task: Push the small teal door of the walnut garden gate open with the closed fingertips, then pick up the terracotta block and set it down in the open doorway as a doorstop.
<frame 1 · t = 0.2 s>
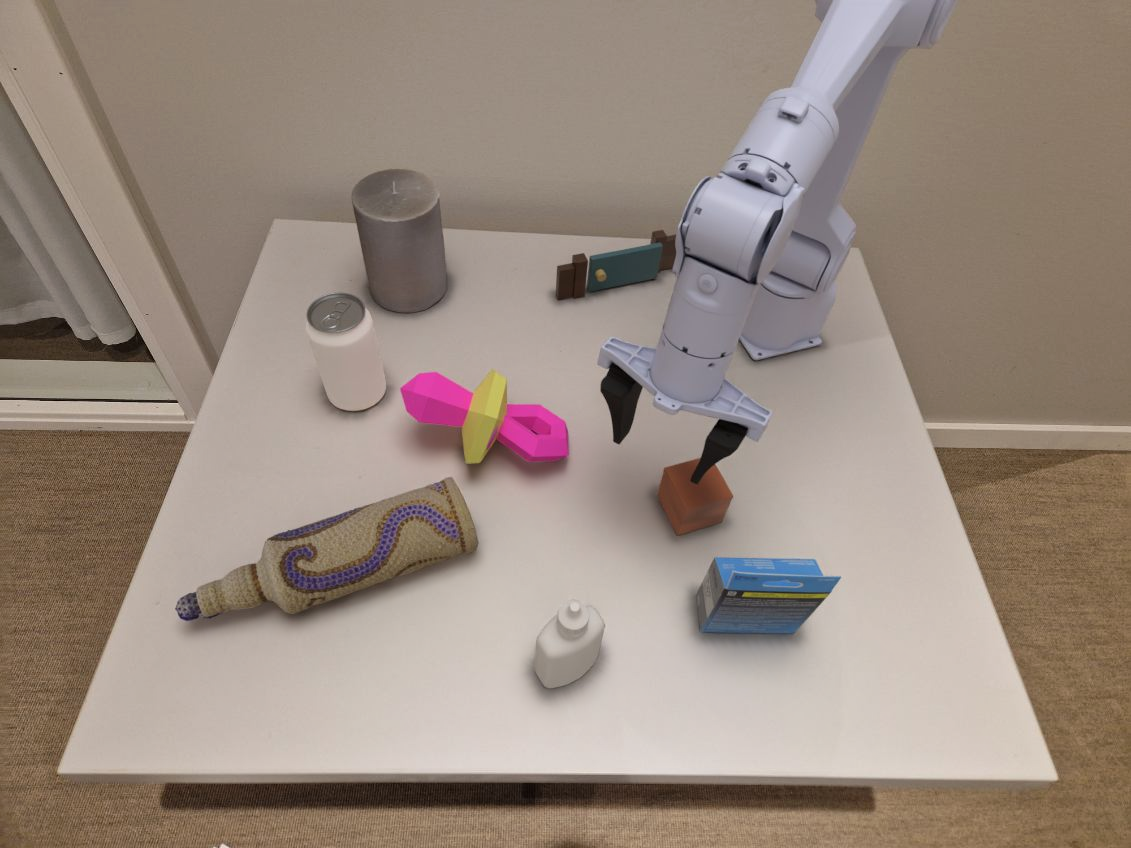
hand: (658, 456, 64), 10 cm above the table, tool pointing down, fingers open, 7 cm apart
block: (688, 508, 74), on the table
gate: (619, 285, 93), on the table
eye dropper bottle: (566, 664, 63), on the table
toy: (489, 442, 77), on the table
gate door: (625, 269, 91), point 3 cm above the table, hinge at 0.0°
can: (357, 391, 81), on the table
label tape box: (743, 616, 67), on the table
pillar candle: (410, 288, 91), on the table
decorative bottle: (345, 564, 68), on the table
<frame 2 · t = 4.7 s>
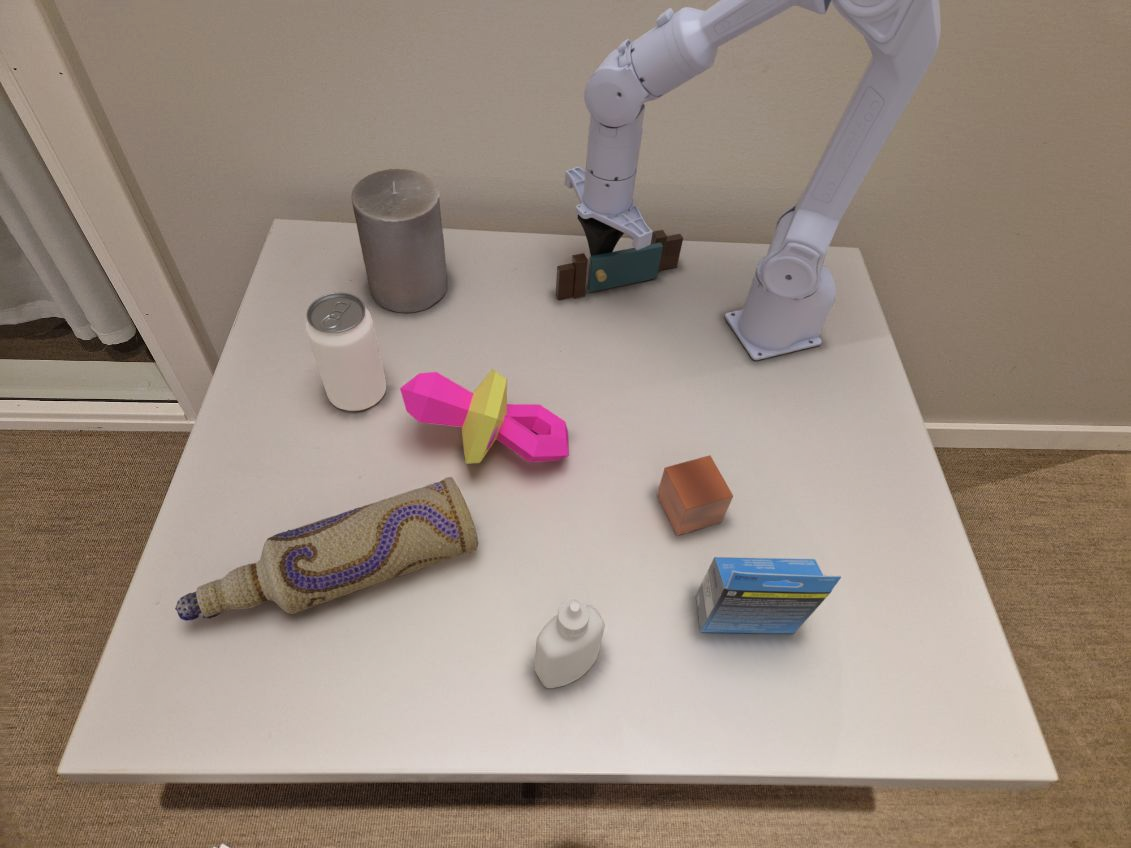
hand: (600, 262, 92), 3 cm above the table, tool pointing down, fingers closed
gate door: (626, 270, 91), point 3 cm above the table, hinge at 0.4°, touching gripper
everything else where it was.
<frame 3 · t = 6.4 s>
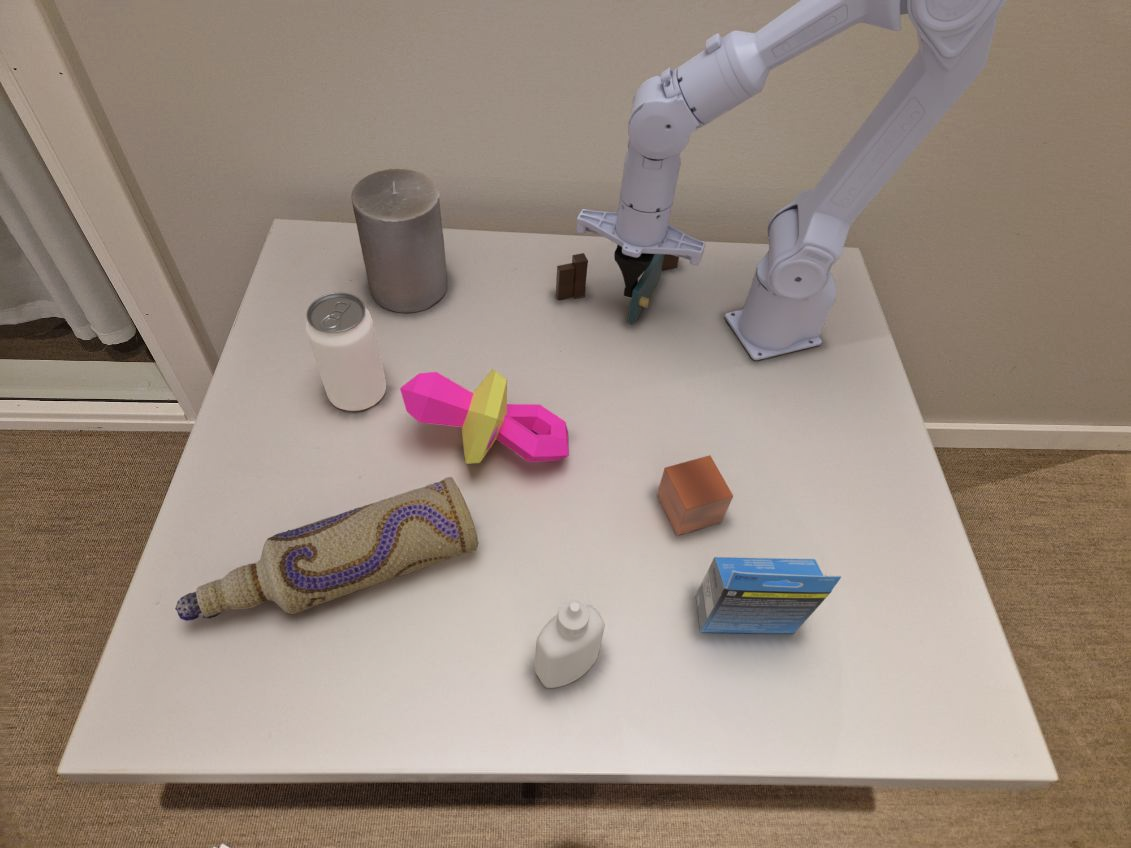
hand: (630, 292, 88), 3 cm above the table, tool pointing down, fingers closed
gate door: (650, 285, 89), point 3 cm above the table, hinge at 46.2°, touching gripper
everything else where it was.
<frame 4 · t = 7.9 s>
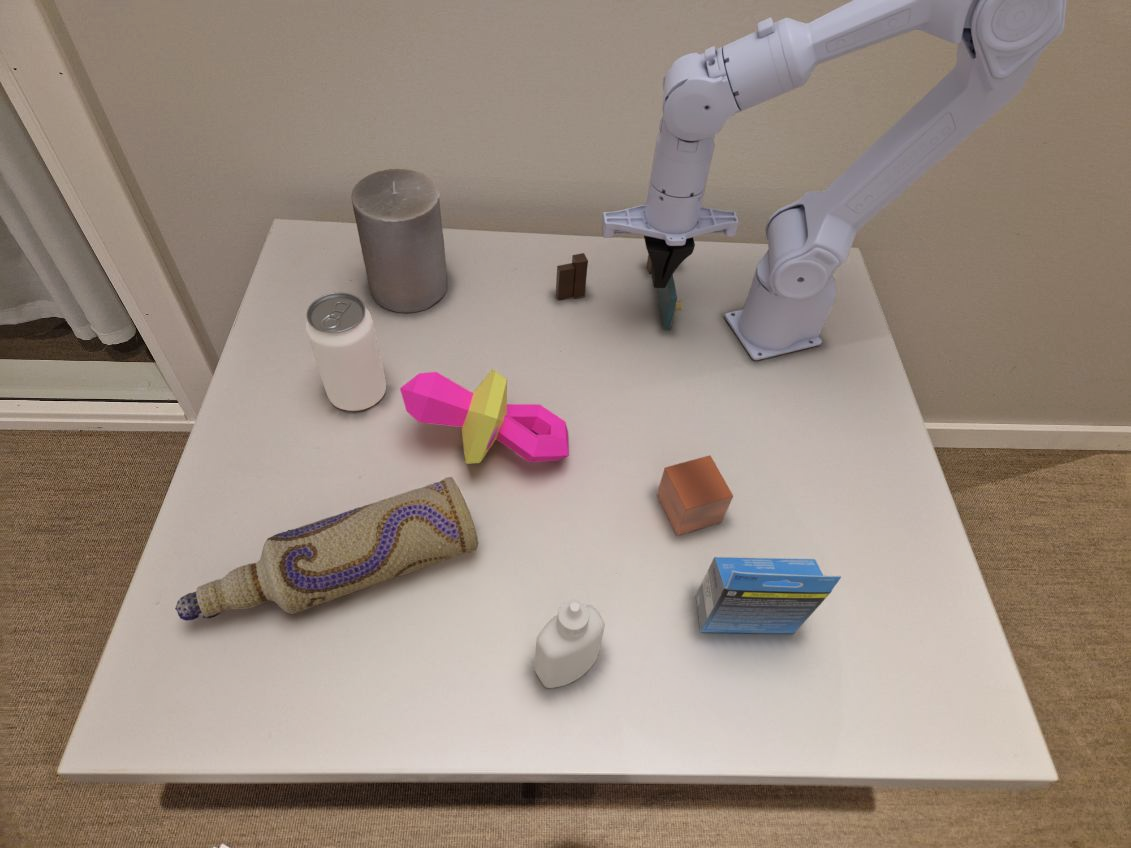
hand: (658, 282, 85), 6 cm above the table, tool pointing down, fingers closed
gate door: (669, 287, 89), point 3 cm above the table, hinge at 72.7°
everything else where it was.
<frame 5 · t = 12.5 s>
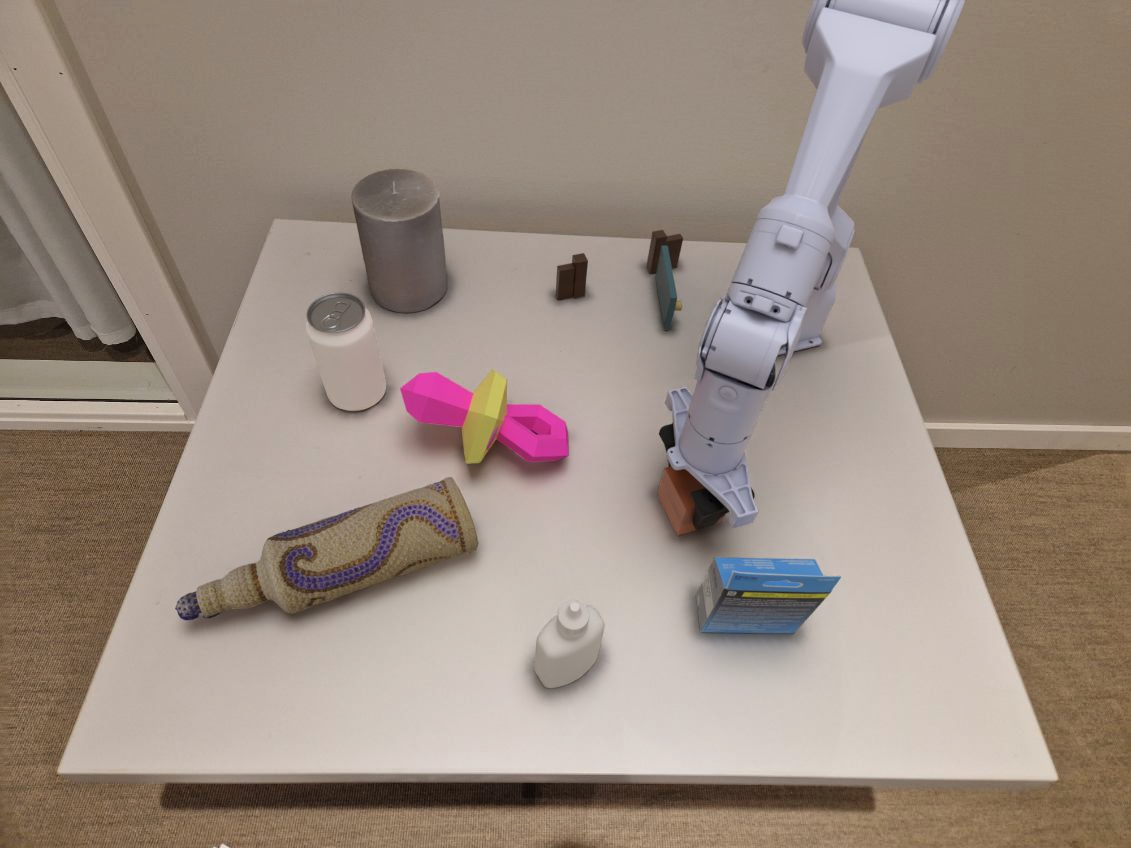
hand: (691, 501, 72), 1 cm above the table, tool pointing down, fingers closed on block, 5 cm apart
block: (689, 508, 74), on the table, touching gripper
everything else where it was.
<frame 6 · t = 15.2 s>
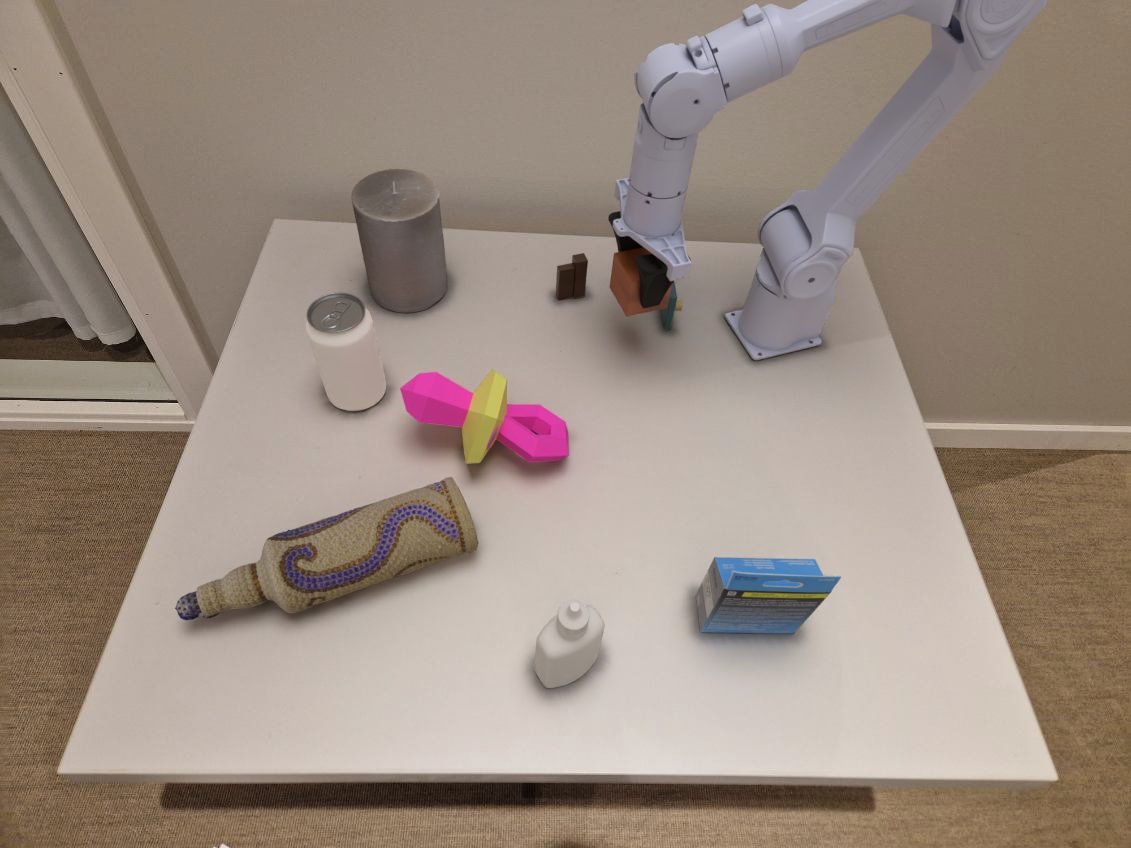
hand: (640, 287, 81), 8 cm above the table, tool pointing down, fingers closed on block, 5 cm apart
block: (637, 297, 82), point 7 cm above the table, touching gripper
everything else where it was.
when the fingers open (1 cm above the table, at t = 18.1 s): block stays where it is, on the table.
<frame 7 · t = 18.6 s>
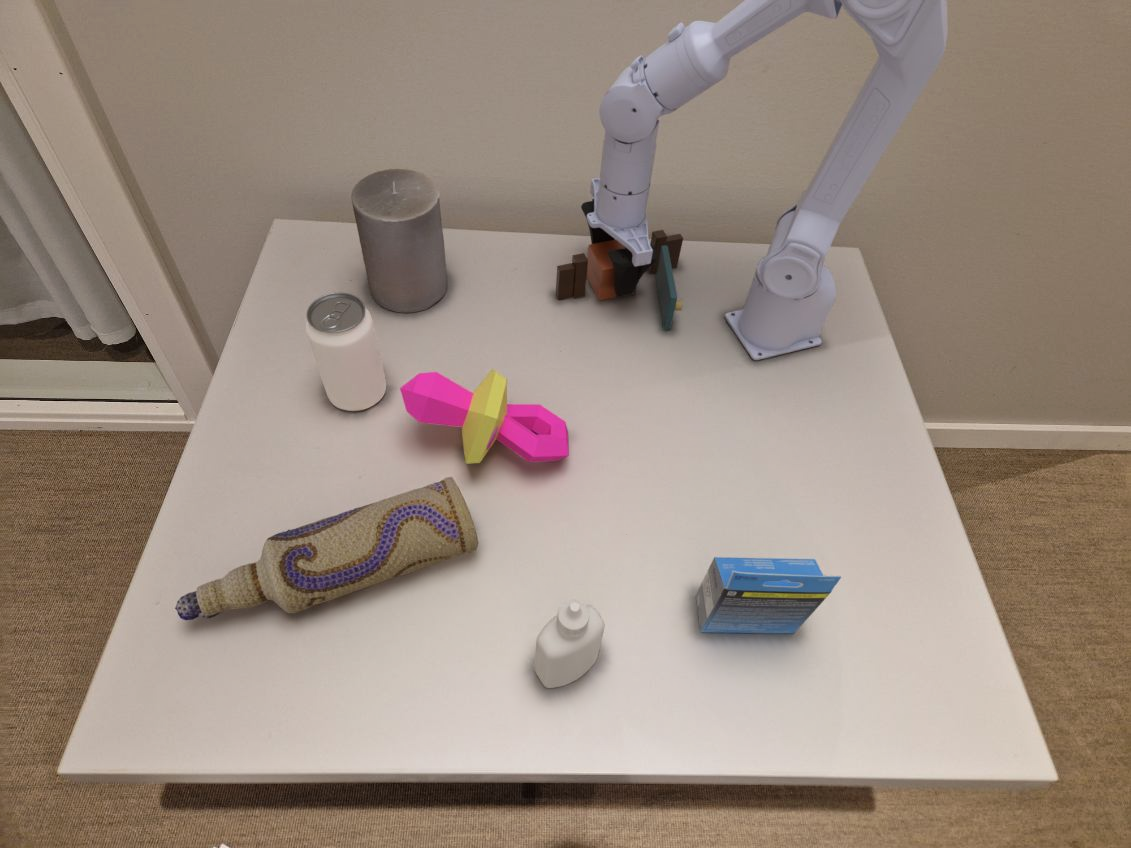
hand: (612, 273, 92), 2 cm above the table, tool pointing down, fingers open, 7 cm apart
block: (610, 284, 93), on the table
everything else where it was.
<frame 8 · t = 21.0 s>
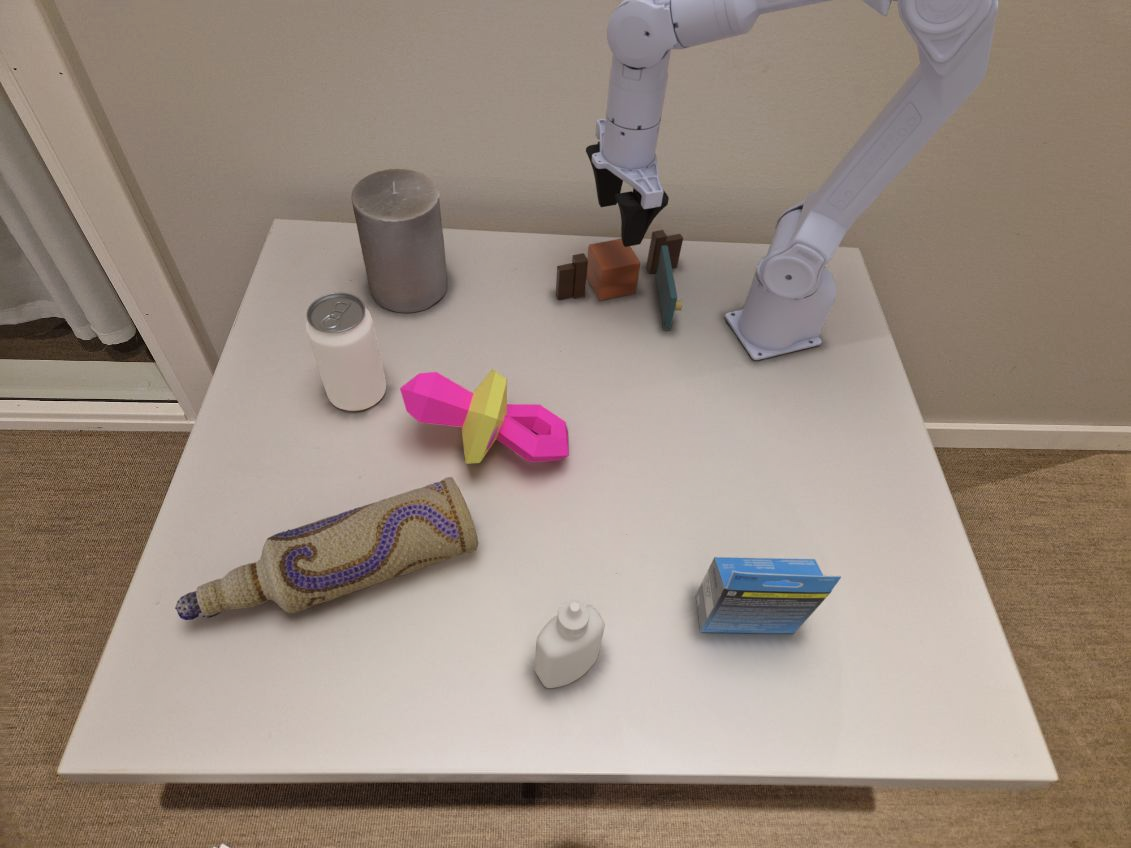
hand: (619, 223, 86), 9 cm above the table, tool pointing down, fingers open, 7 cm apart
nothing on the table moved.
at the end: gate door at +73° (first picture: +0°); block 0.1 cm from the target spot on the gate, point 0.0 cm above the gate's base; block tilted 0° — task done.
